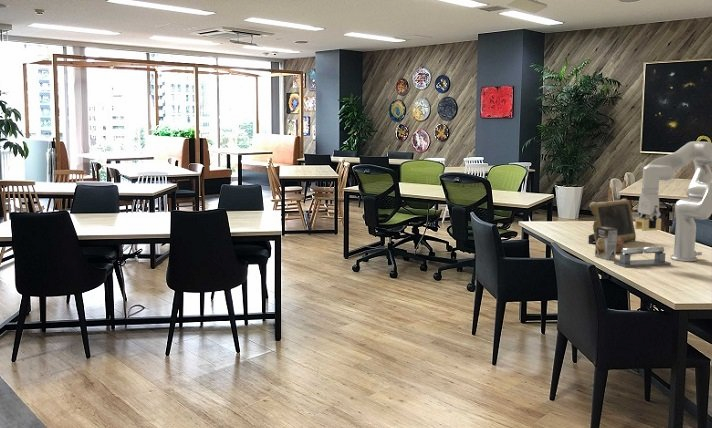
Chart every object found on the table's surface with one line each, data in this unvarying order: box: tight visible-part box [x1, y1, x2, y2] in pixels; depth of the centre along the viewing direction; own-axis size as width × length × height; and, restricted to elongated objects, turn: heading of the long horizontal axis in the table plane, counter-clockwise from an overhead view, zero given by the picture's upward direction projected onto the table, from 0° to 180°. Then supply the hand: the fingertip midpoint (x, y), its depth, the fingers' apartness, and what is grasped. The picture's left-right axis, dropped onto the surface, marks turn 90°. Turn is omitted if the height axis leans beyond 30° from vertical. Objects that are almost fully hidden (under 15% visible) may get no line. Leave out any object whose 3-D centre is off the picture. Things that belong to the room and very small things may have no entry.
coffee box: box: [594, 226, 618, 261], centre depth 345 cm, size 9×6×16 cm
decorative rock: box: [616, 235, 625, 253], centre depth 362 cm, size 13×11×10 cm
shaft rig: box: [613, 246, 672, 268], centre depth 330 cm, size 26×9×8 cm, turn 103°
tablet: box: [588, 198, 637, 245], centre depth 389 cm, size 33×14×25 cm, turn 127°
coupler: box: [634, 216, 662, 232], centre depth 326 cm, size 10×6×6 cm, turn 104°
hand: (647, 226), depth 326 cm, fingers closed on coupler, 6 cm apart
